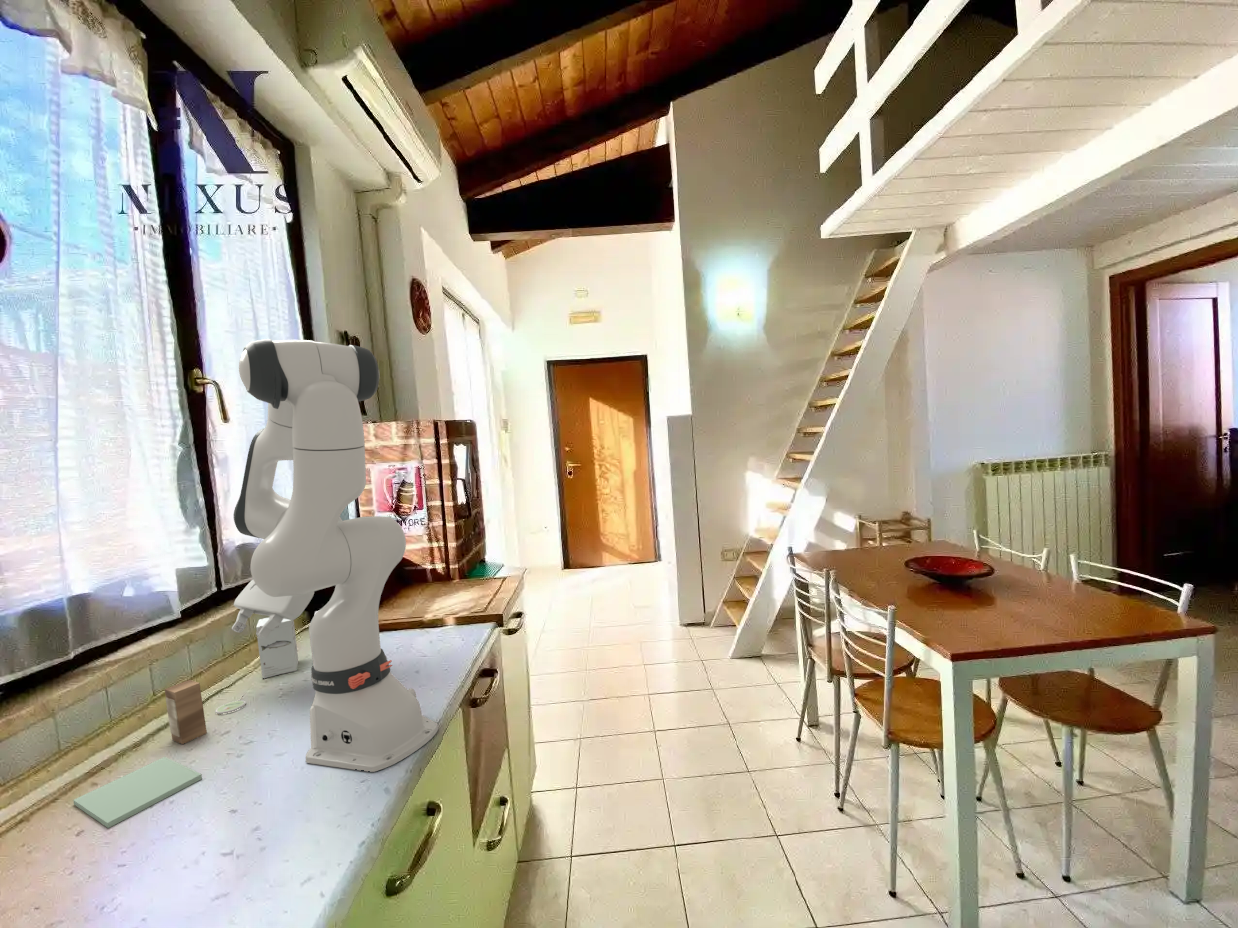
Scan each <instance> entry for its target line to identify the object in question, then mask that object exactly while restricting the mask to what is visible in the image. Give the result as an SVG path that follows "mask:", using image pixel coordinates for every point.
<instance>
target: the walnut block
mask: <svg viewBox="0 0 1238 928" xmlns="http://www.w3.org/2000/svg"><path fill="white" fill-rule="evenodd" d="M164 692H165V693H164V695H165V704H166V709H167V715H168V723H169V730H170V734H171V739H172V741H173V740H174V741H173V742H175V741H176V743H178V742H179V743H178V744H180V743H181V744H180V745H182V744H183V745H185V744H187V743H189V742H192V741H193V739H194V740H195V738H196V739H197V737H198V738H200V737H202V736H204V735H206V734H207V733H208V732H207V725H206V717H205V710H204V704H203V697H202V691H201V685H200V682H198V681H194V680H192V679H188V680H185V681H183V682H181V683H178V684H175V685H172V686H170V687H168V688H165V689H164ZM184 743H185V744H184Z"/></svg>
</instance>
